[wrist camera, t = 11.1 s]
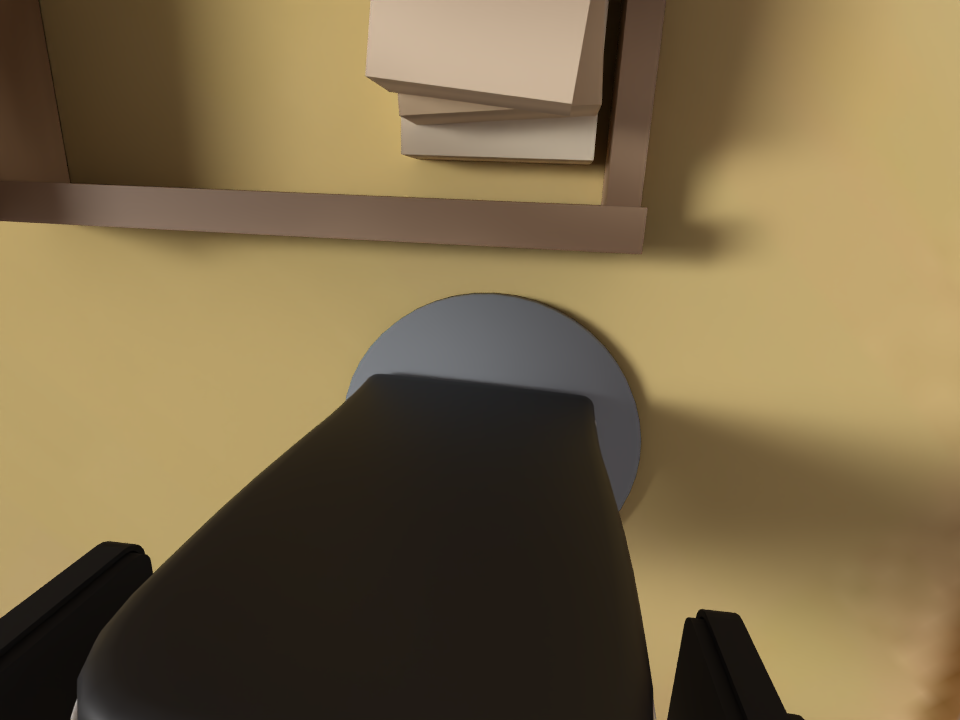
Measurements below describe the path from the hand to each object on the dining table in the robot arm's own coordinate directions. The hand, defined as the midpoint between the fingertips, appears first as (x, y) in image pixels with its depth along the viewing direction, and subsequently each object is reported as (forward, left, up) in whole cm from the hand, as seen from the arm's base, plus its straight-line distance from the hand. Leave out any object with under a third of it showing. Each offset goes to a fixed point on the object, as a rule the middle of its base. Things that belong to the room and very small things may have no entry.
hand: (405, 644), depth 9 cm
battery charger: (0, 0, -8) cm, 8 cm away
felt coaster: (0, 0, -8) cm, 8 cm away
